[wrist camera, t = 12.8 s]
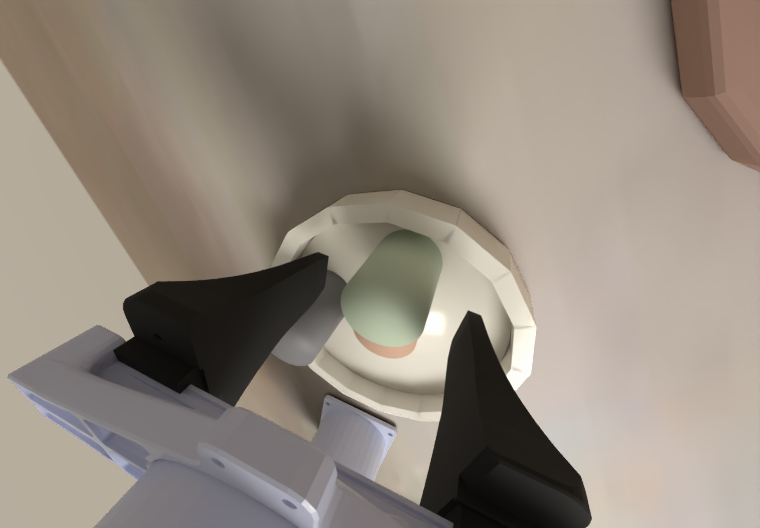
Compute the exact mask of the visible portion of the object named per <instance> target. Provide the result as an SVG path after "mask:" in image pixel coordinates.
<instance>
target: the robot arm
mask: <svg viewBox="0 0 760 528" xmlns="http://www.w3.org/2000/svg"><path fill="white" fill-rule="evenodd" d="M328 259H329V256H327V255H325V254H322V253H320V252H317V253H313V254H310V255H308V256H305V257H302V258H299V259H297V260H294V261H291V262H288V263H285V264H282V265H279V266H275V267H272V268H269V269H265V270H262V271H258V272H254V273H249V274H244V275H239V276H233V277H226V278H219V279H210V280H198V281H168V282H159V281H158V282H156V283H154V284H152V285H150V286H149V287H147V288H145V289H143V290H141V291H139V292H137V293H136V294H134V295H132V296H130V297H128V298H126V299H125V301H124V303H123V310H124V313H125V316H126V318H127V321H128V323H129V325H130V327H131V330H132V332H133V334H134V337H133V338H131V339H130V340H128V341H127V342H126V341H125V340H124V339H123V338H122V337H121V336H119V335H118V334H116V333H114V332H112V331H110V330H108V329H106V328H104V327H102V326H100V325H96V326H94V327H93V328H91V329H89V330H87V331H85V332H84V333H82V334H80V335H78V336H77V337H75V338H73V339H71V340H70V341H68V342H66V343H64V344H62V345H60V346H59V347H57V348H55V349H53V350H51V351H50V352H48V353H46V354H44V355H42V356H41V357H39V358H37V359H35V360H33V361H32V362H30V363H28V364H26V365H24V366H23V367H21V368H19V369H17V370H16V371H14V372H12V373H10V374H9V375H8V379H9V380H10V381H11V382H12V383H13V384H14V385H15V386H16V387H17V388H18V389H19V390H20V392H21V393H23V395H24V396H26V398H27V399H28V400H29V401H30V402H31V403H32V404H33V405H34V406H35V407H36V408H37V409H38V410H39V411H40V412H41V413H42V414H43V415H44V416H45V417H46V418H48V419H49V420H51V421H52V422H54V423H56V424H57V425H59V426H60V427H62V428H63V429H65V430H66V431H68V432H69V433H71V434H72V435H74V436H75V437H77V438H78V439H80V440H81V441H83V442H84V443H86V444H87V445H89V446H90V447H91V448H93V449H94V450H96V451H97V452H98V453H100V454H101V455H103V456H104V457H106V458H107V459H109V460H110V461H111V462H113V463H114V464H116V465H117V466H118V467H120V468H121V469H122V470H124V471H125V472H127V473H128V474H130V475H131V476H132V477H134V478H135V479H137V480H138V481H137V482H136V483H135V484H134V485H133V486H132V487H131V488H130V490H128V492H127V493H126V494H125V495H124V496H123V497H122V498H121V499H120V500H119V501H118V502H117V503H116V504H115V505H114V506H113V508H112V509H111V510H110V511H109V512H108V513H107V514H106V515H105V516H104V517H103V518H102V519H101V520H100V521H99V522H98V523H97V525H96V526H95V527H94V528H586V527H587V526H588V525H589V524H590V522H591V519H592V517H591V513H590V509H589V504H588V499H587V495H586V491H585V488H584V485H583V481H582V478H581V476H580V475H579V474H578V473H577V471H576V470H575V469H574V468H573V467H572V466H571V465H570V463H569V462H568V461H567V460H566V459H565V458H564V457H563V455H562V454H561V453H560V452H559V451H558V450H557V449H556V447H555V446H554V445H553V444H552V443H551V441H550V440H549V439H548V437H547V436H546V435H545V434H544V432H543V431H542V430H541V429H540V427H539V426H538V425H537V423H536V422H535V420H534V419H533V418H532V416H531V415H530V413H529V412H528V410H527V409H526V408H525V406H524V405H523V403H522V402H521V400H520V399H519V397H518V395H517V394H516V392H515V390H514V389H513V387H512V385H511V384H510V382H509V380H508V378H507V376H506V375H505V373H504V371H503V368H502V366H501V364H500V362H499V360H498V358H497V356H496V353H495V351H494V348H493V346H492V344H491V341H490V338H489V336H488V333H487V330H486V327H485V324H484V322H483V319H482V316H481V315H479V314H477V313H474V312H471V311H469V310H468V311H467V313H466V315H465V317H464V318H463V320H462V322H461V324H460V326H459V328H458V330H457V331H456V333H455V335H454V337H453V339H452V342H451V346H450V350H449V355H448V360H447V369H446V378H445V388H444V397H443V406H442V412H441V417H440V422H439V427H438V431H437V436H436V440H435V445H434V449H433V454H432V458H431V462H430V466H429V470H428V474H427V479H426V483H425V487H424V490H423V494H422V498H421V502H420V505H418V504H416V503H414V502H412V501H410V500H408V499H407V498H405V497H403V496H401V495H399V494H397V493H395V492H393V491H391V490H390V489H388V488H386V487H384V486H382V485H380V484H378V483H376V482H375V478H376V475H377V472H378V469H379V467H380V465H381V463H382V461H383V459H384V457H385V455H386V453H387V451H388V449H389V447H390V445H391V444H392V442H393V440H394V438H395V436H396V434H397V429H396V428H395V427H394V426H392V425H390V424H388V423H386V422H384V421H382V420H380V419H378V418H375V417H373V416H371V415H369V414H367V413H365V412H363V411H361V410H359V409H357V408H355V407H353V406H351V405H349V404H347V403H345V402H343V401H341V400H338V399H336V398H334V397H332V396H330V395H326V396H325V398H324V402H323V408H322V414H321V420H320V426H319V428H318V430H317V432H316V433H315V435H314V437H313V439H312V441H311V442H309V441H307V440H306V439H304V438H302V437H300V436H298V435H296V434H294V433H292V432H290V431H288V430H287V429H285V428H283V427H281V426H279V425H277V424H275V423H273V422H271V421H269V420H268V419H266V418H264V417H262V416H260V415H258V414H256V413H254V412H252V411H250V410H247V409H245V408H242V407H234V406H235V405H236V403H237V402H238V400H239V399H240V397H241V395H242V394H243V392H244V391H245V389H246V388H247V386H248V385H249V383H250V382H251V380H252V379H253V377H254V376H255V374H256V373H257V371H258V370H259V368H260V367H261V366H262V364H263V363H264V361H265V360H266V359H267V357H268V356H269V354H270V353H271V352H272V350H273V349H274V348H275V346H276V345H277V344H278V342H279V341H280V340H281V338H282V337H283V336H284V335H285V334H286V333H287V331H288V330H289V329H290V328H291V327H292V326H293V325H294V324H295V323H296V322H297V321H298V320H299V319H300V317H301V316H302V315H303V314H304V313H305V312H306V311H307V310H308V309H309V308H310V307H311V306H312V304H313V303H314V302H315V301H316V299H317V298H318V297H319V295H320V294H321V292H322V291H323V289H324V288H325V283H326V275H327V267H328Z"/></svg>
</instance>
